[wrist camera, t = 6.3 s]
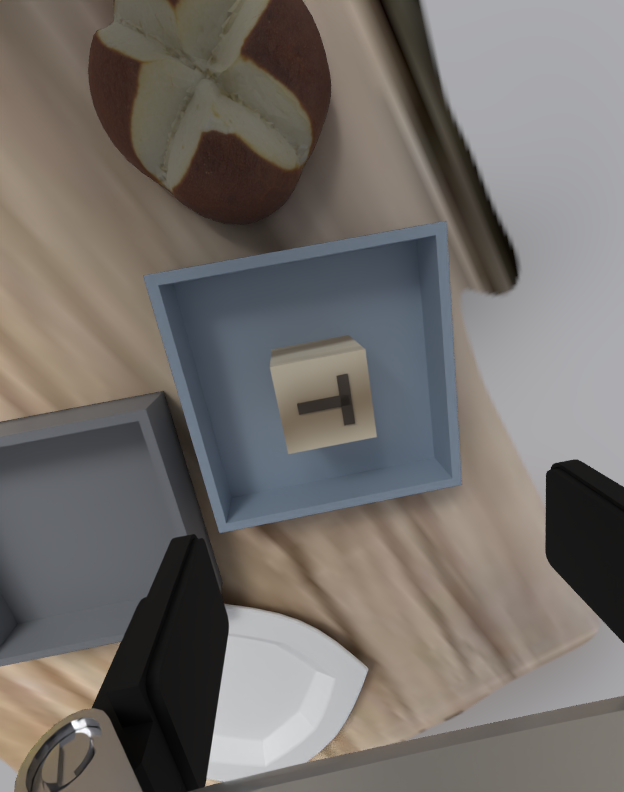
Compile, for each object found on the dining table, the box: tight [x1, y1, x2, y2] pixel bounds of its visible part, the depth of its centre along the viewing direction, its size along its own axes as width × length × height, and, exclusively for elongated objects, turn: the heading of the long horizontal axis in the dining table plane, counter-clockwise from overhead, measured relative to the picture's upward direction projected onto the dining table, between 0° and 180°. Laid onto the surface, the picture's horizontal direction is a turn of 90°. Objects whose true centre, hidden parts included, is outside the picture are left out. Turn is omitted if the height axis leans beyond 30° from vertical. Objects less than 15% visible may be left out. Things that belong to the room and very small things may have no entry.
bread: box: [88, 0, 331, 224], centre depth 19 cm, size 11×11×5 cm
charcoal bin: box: [0, 391, 222, 666], centre depth 26 cm, size 16×16×4 cm
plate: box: [206, 604, 368, 781], centre depth 33 cm, size 19×19×2 cm
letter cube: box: [270, 335, 377, 454], centre depth 23 cm, size 5×5×5 cm
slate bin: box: [143, 221, 462, 533], centre depth 24 cm, size 16×16×4 cm
